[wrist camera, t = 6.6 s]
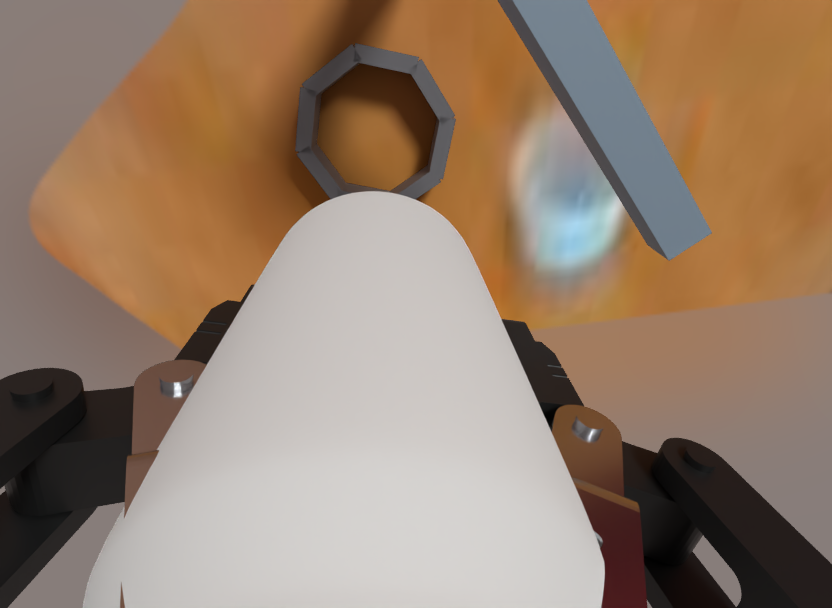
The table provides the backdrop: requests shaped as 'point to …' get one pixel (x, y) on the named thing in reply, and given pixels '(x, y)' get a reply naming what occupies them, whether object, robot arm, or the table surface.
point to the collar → (311, 113)
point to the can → (358, 443)
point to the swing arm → (610, 119)
